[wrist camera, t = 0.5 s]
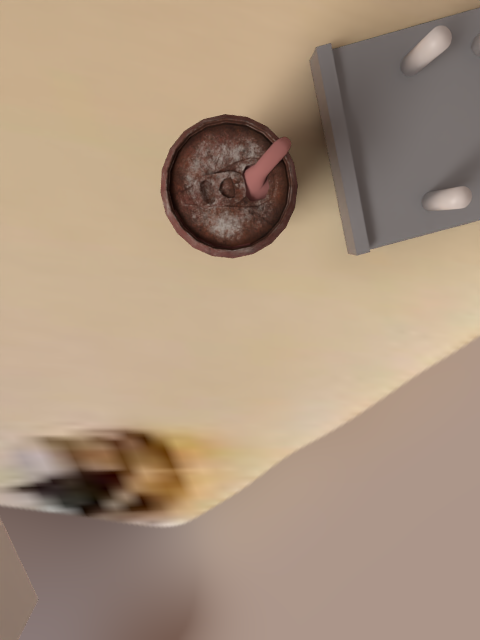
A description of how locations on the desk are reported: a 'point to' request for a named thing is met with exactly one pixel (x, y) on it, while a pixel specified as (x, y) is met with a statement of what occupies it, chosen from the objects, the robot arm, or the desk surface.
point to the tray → (403, 129)
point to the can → (229, 186)
